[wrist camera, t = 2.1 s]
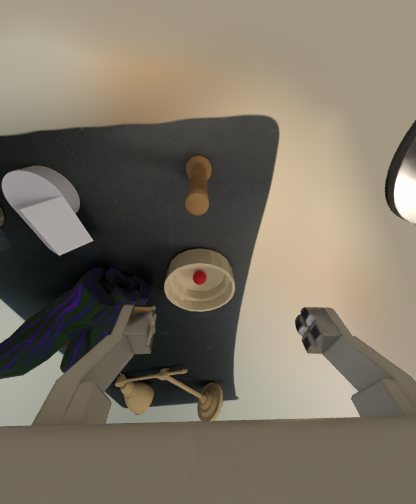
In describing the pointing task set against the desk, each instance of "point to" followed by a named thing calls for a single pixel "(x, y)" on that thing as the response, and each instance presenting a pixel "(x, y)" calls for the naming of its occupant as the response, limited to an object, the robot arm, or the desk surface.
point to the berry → (199, 277)
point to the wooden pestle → (198, 184)
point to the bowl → (205, 295)
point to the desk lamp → (142, 394)
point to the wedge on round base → (47, 206)
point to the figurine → (1, 217)
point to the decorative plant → (72, 321)
